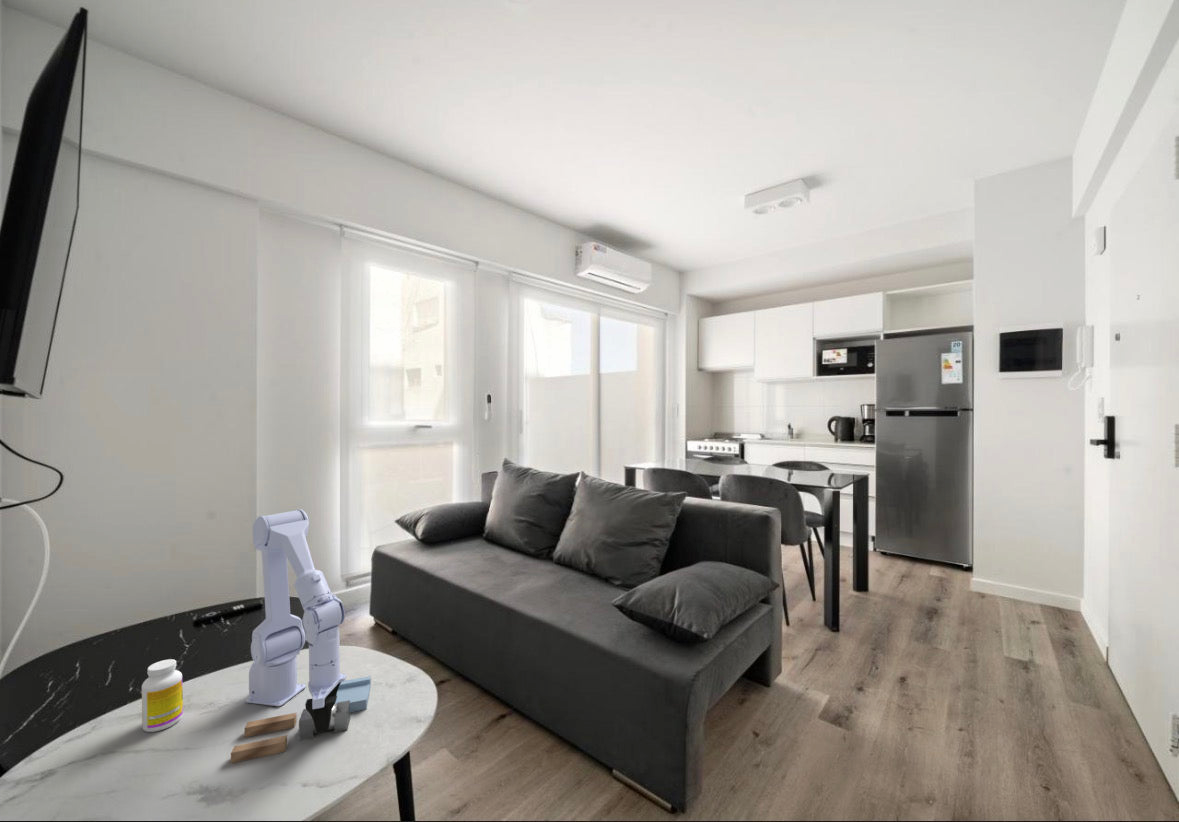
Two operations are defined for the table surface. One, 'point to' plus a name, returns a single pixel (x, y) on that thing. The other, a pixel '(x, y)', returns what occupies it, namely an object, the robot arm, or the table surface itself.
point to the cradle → (355, 693)
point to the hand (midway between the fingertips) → (325, 722)
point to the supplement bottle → (162, 696)
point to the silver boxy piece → (337, 722)
